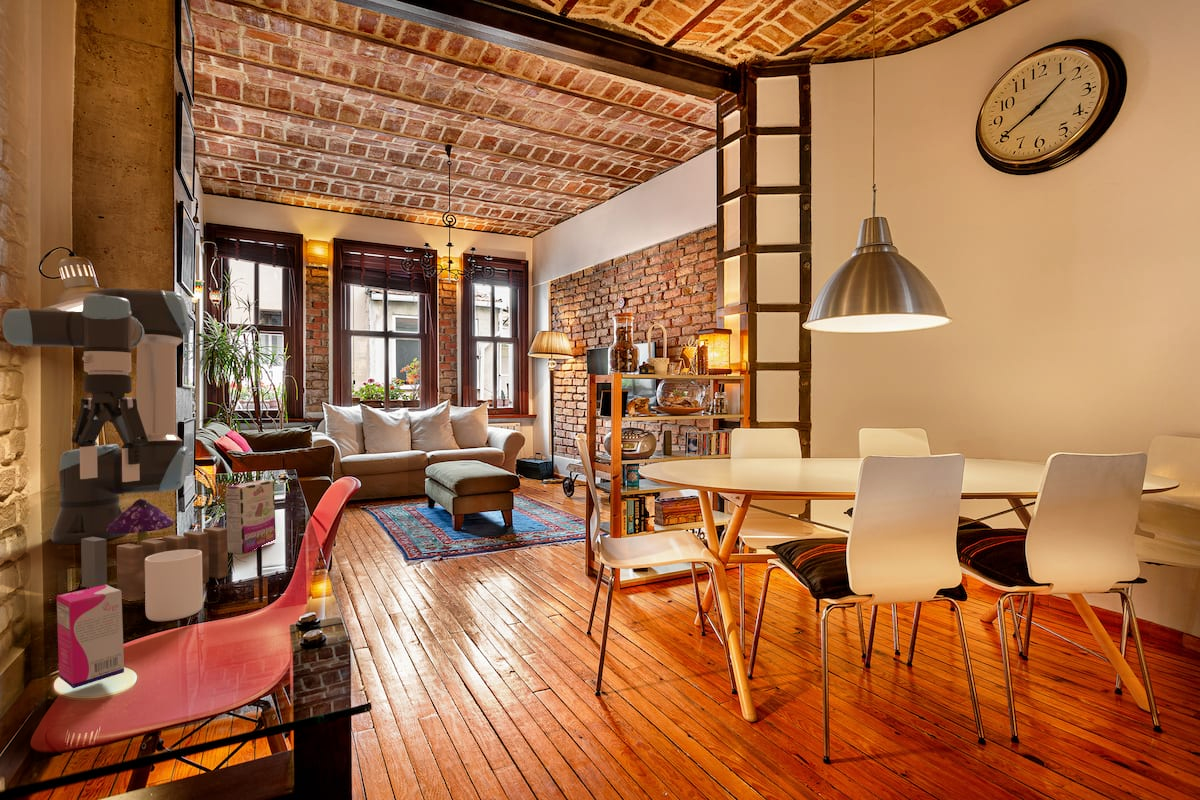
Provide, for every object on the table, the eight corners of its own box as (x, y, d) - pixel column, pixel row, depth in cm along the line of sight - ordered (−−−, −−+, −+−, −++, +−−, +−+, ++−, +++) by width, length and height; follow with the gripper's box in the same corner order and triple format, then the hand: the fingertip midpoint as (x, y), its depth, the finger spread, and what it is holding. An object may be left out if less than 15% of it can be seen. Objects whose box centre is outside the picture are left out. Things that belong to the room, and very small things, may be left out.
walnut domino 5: (218, 578, 129) (217, 531, 128) (204, 575, 131) (203, 528, 131) (228, 576, 130) (227, 529, 130) (213, 573, 133) (212, 526, 132)
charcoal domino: (95, 592, 120) (94, 541, 120) (81, 589, 122) (81, 538, 122) (107, 589, 122) (106, 539, 122) (93, 586, 124) (93, 536, 124)
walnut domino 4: (198, 584, 125) (198, 535, 125) (184, 580, 127) (183, 532, 127) (208, 581, 127) (208, 533, 127) (194, 578, 129) (193, 530, 129)
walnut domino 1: (132, 602, 114) (131, 548, 114) (117, 598, 117) (116, 545, 116) (144, 599, 116) (143, 546, 116) (129, 595, 118) (128, 543, 118)
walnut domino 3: (177, 589, 121) (177, 539, 121) (163, 586, 124) (162, 536, 124) (188, 587, 123) (187, 537, 123) (173, 583, 125) (173, 534, 125)
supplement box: (109, 662, 89) (108, 583, 88) (125, 672, 85) (123, 590, 85) (57, 677, 84) (55, 593, 84) (71, 689, 80) (70, 602, 80)
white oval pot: (143, 606, 112) (142, 550, 112) (197, 597, 117) (197, 543, 117) (146, 626, 102) (145, 564, 102) (205, 614, 108) (204, 555, 107)
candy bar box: (259, 543, 159) (258, 479, 159) (276, 543, 158) (275, 480, 158) (225, 554, 148) (224, 486, 148) (243, 555, 147) (242, 486, 147)
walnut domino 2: (155, 595, 118) (155, 543, 118) (141, 592, 120) (140, 541, 120) (167, 592, 120) (166, 541, 120) (152, 589, 122) (151, 538, 122)
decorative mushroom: (133, 575, 132) (132, 504, 132) (92, 570, 136) (91, 502, 136) (188, 559, 144) (187, 495, 143) (149, 555, 147) (148, 493, 147)
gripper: (49, 374, 125) (50, 479, 125) (126, 371, 115) (128, 485, 116) (91, 375, 132) (92, 474, 132) (168, 373, 122) (169, 479, 123)
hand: (109, 479), depth 124 cm, fingers open, 13 cm apart
